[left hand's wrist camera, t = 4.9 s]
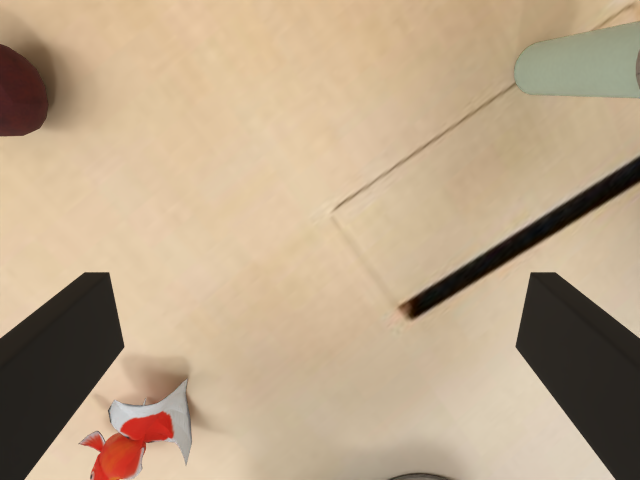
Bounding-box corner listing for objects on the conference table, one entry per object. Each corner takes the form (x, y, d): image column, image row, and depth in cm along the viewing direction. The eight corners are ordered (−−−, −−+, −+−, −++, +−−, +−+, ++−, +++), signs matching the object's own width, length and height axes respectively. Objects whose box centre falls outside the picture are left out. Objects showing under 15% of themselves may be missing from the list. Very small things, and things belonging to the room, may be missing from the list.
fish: (37, 427, 45) (36, 506, 37) (157, 334, 48) (179, 390, 41) (105, 462, 51) (116, 536, 44) (206, 378, 55) (233, 433, 47)
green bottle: (563, 36, 35) (771, -9, 19) (563, 88, 37) (757, 88, 20) (512, 48, 35) (674, 15, 19) (515, 99, 37) (667, 109, 21)
